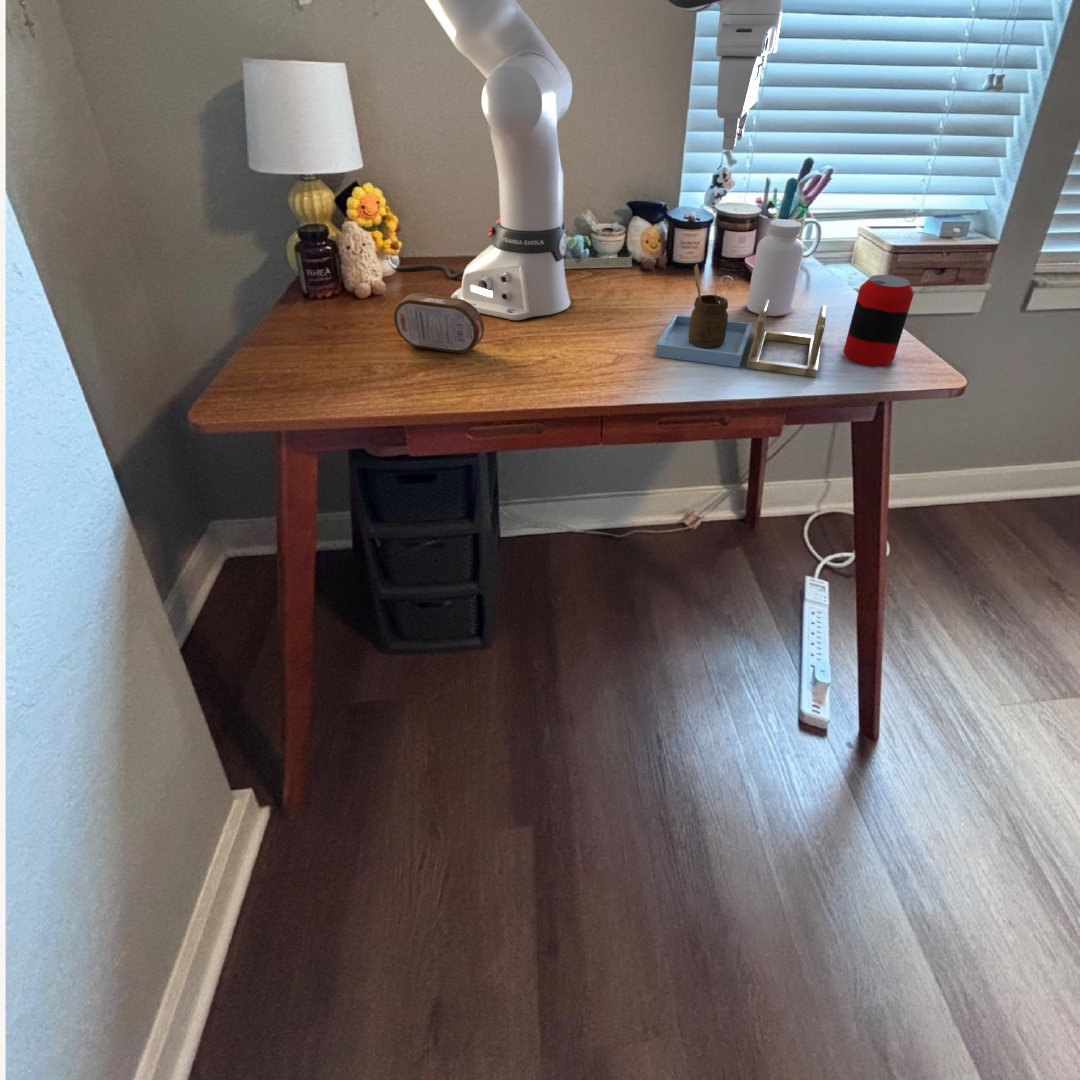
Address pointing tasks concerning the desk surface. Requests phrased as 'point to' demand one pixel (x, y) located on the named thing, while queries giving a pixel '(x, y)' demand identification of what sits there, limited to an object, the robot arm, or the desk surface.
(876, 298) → the soda can
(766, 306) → the rack
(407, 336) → the tin
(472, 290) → the robot arm
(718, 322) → the utensil holder
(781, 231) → the pill bottle
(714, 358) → the tray
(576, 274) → the desk surface
